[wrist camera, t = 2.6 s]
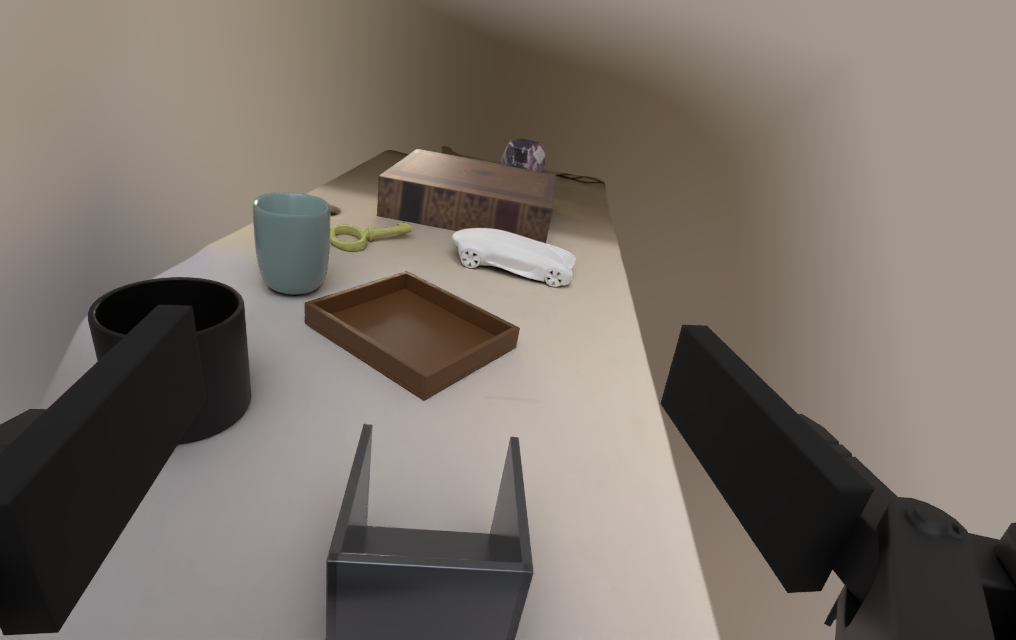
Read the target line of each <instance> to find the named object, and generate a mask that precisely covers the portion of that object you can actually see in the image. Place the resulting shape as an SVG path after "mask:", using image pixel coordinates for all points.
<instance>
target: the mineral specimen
mask: <svg viewBox="0 0 1016 640" xmlns="http://www.w3.org/2000/svg"><path fill="white" fill-rule="evenodd" d="M501 165H505V166H511V167H516V168H521V169H527V170H532V171H538V172H542V171H543V169H544V167H545V154H544V147H543V145H542V144H540V143H539V142H535V141H530V140H526V139H517V140H513V141H510V142H509V144H508V146H507V148H506V150H505V152H504V154H503V157H502V160H501Z"/></svg>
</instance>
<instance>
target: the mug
mask: <svg viewBox="0 0 1016 640" xmlns="http://www.w3.org/2000/svg"><path fill="white" fill-rule="evenodd" d="M158 305H181V306H192V307H193V314H194V320H195V326H196V333H197V339H198V345H199V352H200V358H201V364H202V371H203V377H204V383H205V390H206V396H207V399H206V401H205V402H204V404H203V405H202V407H201V408H200V410H199V412H198V413H197V415H196V416H195V418H194V419H193V421H192V423H191V424H190V426H189V427H188V429H187V430H186V432H185V434H184V435H183V437H182V438H181V440H180V442H179V443H178V444H181V443H187V442H192V441H196V440H200V439H203V438H206V437H209V436H212V435H214V434H216V433H218V432H221V431H222V430H224V429H226V428H228V427H229V426H231V425H232V424H233V423H235V422H236V421H237V420H238V419H239V418H240V417H241V416H242V415H243V414H244V412H245V411H246V409H247V407H248V405H249V403H250V400H251V386H250V373H249V360H248V348H247V335H246V322H245V309H244V301H243V299H242V297H241V295H240V294H239V293H238V292H237V291H236V290H235V289H233V288H232V287H230V286H228V285H225V284H223V283H220V282H216V281H212V280H207V279H201V278H188V277H172V278H159V279H151V280H146V281H141V282H136V283H132V284H128V285H125V286H122V287H119V288H117V289H114V290H112V291H110V292H108V293H106V294H105V295H103V296H101V297H100V298H98V299H97V300H96V301H95V302H94V303H93V304H92V306H91V307H90V310H89V312H88V322H89V326H90V330H91V335H92V339H93V343H94V347H95V352H96V356H97V360H98V361H99V360H100V359H101V358H102V357H103V356H104V355H105V354H107V353H108V352H109V351H110V350H111V349H112V348H113V347H114V346H115V345H116V344H117V343H118V342H119V341H120V340H121V339H123V338H124V337H125V336H126V335H127V334H128V333H129V332H130V331H131V330H132V329H133V328H134V327H135V326H136V325H137V324H139V323H140V322H141V321H142V320H143V319H144V318H145V317H146V316H147V315H148V314H149V313H150V312H151V311H152V310H153V309H154V308H156V307H157V306H158Z"/></svg>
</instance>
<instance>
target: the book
mask: <svg viewBox="0 0 1016 640" xmlns="http://www.w3.org/2000/svg"><path fill="white" fill-rule="evenodd" d="M555 177H556V175H554V174H548V173H543V172H538V171H532V170H527V169H521V168H516V167H511V166H505V165H500V164H495V163H489V162H484V161H479V160H473V159H468V158H462V157H457V156H452V155H446V154H441V153H436V152H430V151H425V150H419V149H416V150H415V151H414V152H412V153H411V154H409V155H408V156H407V157H405V158H404V159H402V160H401V161H399V162H398V163H397V164H395V165H394V166H392V167H391V168H390V169H388V170H387V171H385V172H384V173H383V174H381V175H380V176H379V185H378V206H377V216H381V217H387V218H392V219H397V220H402V221H408V222H413V223H418V224H424V225H429V226H434V227H440V228H445V229H450V230H456V231H459V230H462V229H470V228H490V229H498V230H503V231H507V232H510V233H513V234H517V235H520V236H523V237H526V238H529V239H533V240H536V241H539V242H543V243H546V239H547V234H548V229H549V224H550V219H551V214H552V209H553V199H554V188H555Z"/></svg>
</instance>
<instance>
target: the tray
mask: <svg viewBox="0 0 1016 640" xmlns="http://www.w3.org/2000/svg"><path fill="white" fill-rule="evenodd" d="M305 324H306V325H308V326H310V327H311V328H313V329H314V330H316V331H317V332H319V333H320V334H322V335H323V336H325V337H327V338H328V339H330V340H331V341H333V342H334V343H336V344H337V345H339V346H340V347H342V348H344V349H345V350H347V351H348V352H350V353H351V354H353V355H354V356H356V357H357V358H359V359H361V360H362V361H364V362H365V363H367V364H368V365H370V366H371V367H373V368H374V369H376V370H377V371H379V372H381V373H382V374H384V375H385V376H387V377H388V378H390V379H391V380H393V381H394V382H396V383H398V384H399V385H401V386H402V387H404V388H405V389H407V390H408V391H410V392H411V393H413V394H415V395H416V396H418V397H419V398H421V399H422V400H426V399H427V398H429V397H431V396H433V395H434V394H436V393H438V392H440V391H441V390H443V389H445V388H447V387H448V386H450V385H452V384H453V383H455V382H457V381H459V380H460V379H462V378H464V377H466V376H467V375H469V374H471V373H472V372H474V371H476V370H478V369H479V368H481V367H483V366H485V365H486V364H488V363H490V362H492V361H493V360H495V359H497V358H498V357H500V356H502V355H504V354H505V353H507V352H509V351H511V350H512V349H514V348H516V345H517V340H518V335H519V330H520V328H519V327H517V326H515V325H513V324H511V323H509V322H507V321H505V320H503V319H501V318H499V317H497V316H495V315H493V314H491V313H489V312H487V311H485V310H483V309H481V308H479V307H477V306H475V305H473V304H471V303H469V302H467V301H465V300H463V299H461V298H459V297H457V296H455V295H453V294H451V293H449V292H447V291H445V290H443V289H441V288H439V287H437V286H435V285H433V284H431V283H429V282H427V281H425V280H423V279H421V278H419V277H417V276H415V275H413V274H411V273H409V272H407V271H405V272H402V273H399V274H395V275H392V276H389V277H386V278H382V279H379V280H376V281H373V282H370V283H366V284H363V285H360V286H357V287H353V288H350V289H347V290H344V291H340V292H337V293H334V294H331V295H328V296H324V297H321V298H318V299H315V300H311V301H308V302H305Z"/></svg>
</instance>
